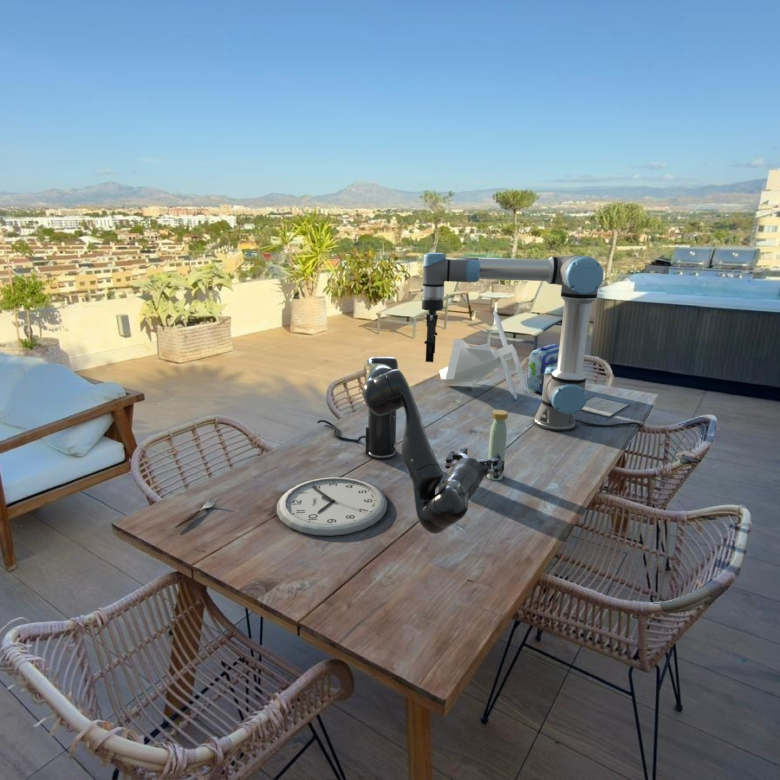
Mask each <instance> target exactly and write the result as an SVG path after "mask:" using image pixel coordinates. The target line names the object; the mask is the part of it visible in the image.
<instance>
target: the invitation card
mask: <svg viewBox="0 0 780 780" xmlns="http://www.w3.org/2000/svg"><path fill="white" fill-rule="evenodd" d="M628 406H629V404H627V403H623V402H618V401H614V400H609V399H605V398H601V397H596V396H593V397H592V398H590V399H587V401H586V404H585V406H584V407H583V408H582V409H581V410H580V411H584V412H587V413H593V414H596V415H600V416H604V417H608V418H609V417H611V416H613V415H614V414H616V413H617V412H619V411H621V410H623V409H624V408H626V407H628Z"/></svg>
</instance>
